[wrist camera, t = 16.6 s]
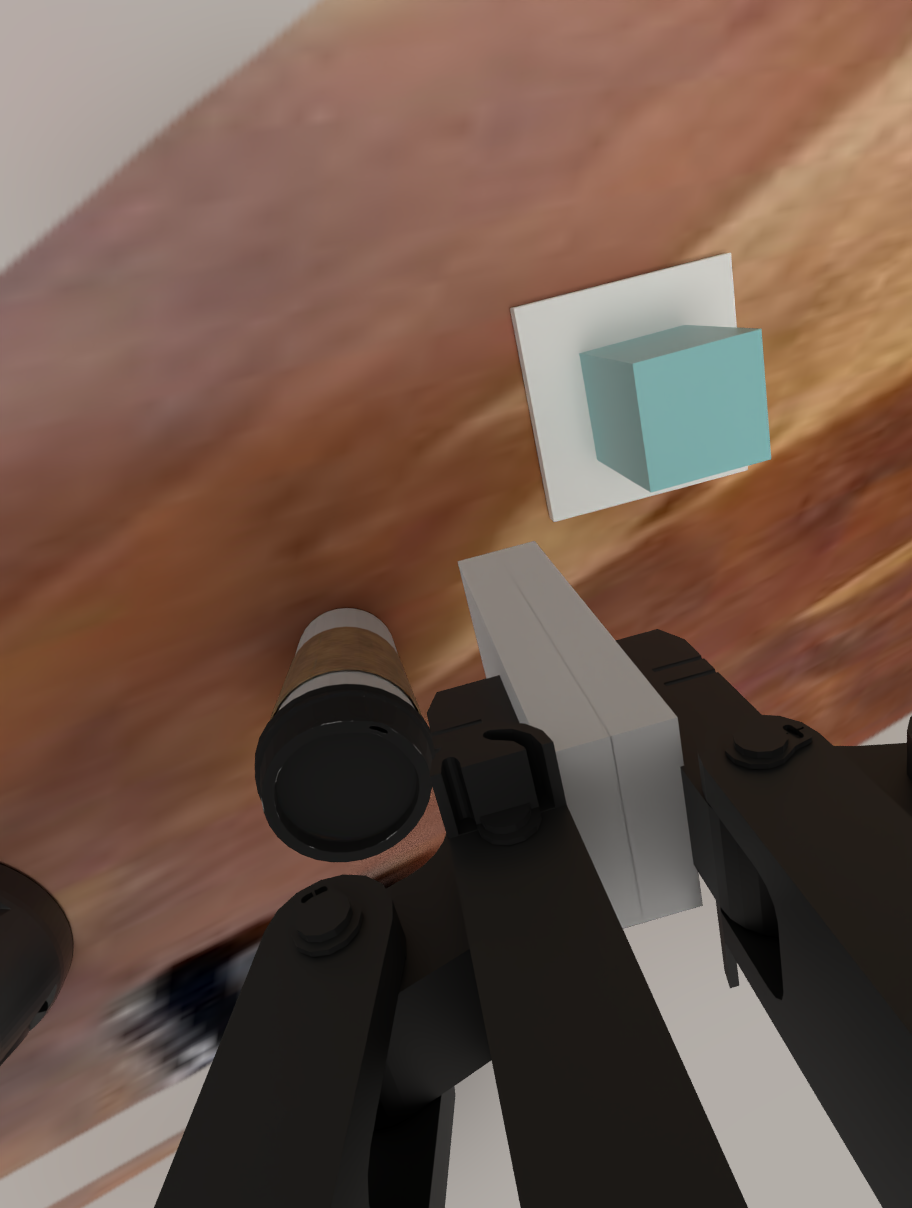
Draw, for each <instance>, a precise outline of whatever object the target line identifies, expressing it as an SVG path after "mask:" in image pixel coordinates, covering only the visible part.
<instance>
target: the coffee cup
mask: <svg viewBox="0 0 912 1208" xmlns="http://www.w3.org/2000/svg"><path fill="white" fill-rule="evenodd" d="M434 757H435V751H434V746H433V741H432V735H431V731H430V728H429V727H428V725H427V723H426V722H425V720H424V718H423V717H422V715H421V712H420V709H419V707H418V704H417V701H416V699H415V696H414V694H413V691H412V688H411V686H410V683H409V681H408V678H407V675H406V673H405V670H404V668H403V665H402V662H401V660H400V657H399V656H398V653H397V650H396V647H395V644H394V641H393V638H392V635H391V633H390V632H389V630H388V628H387V627H386V626H385V625H384V624H383V622H382V621H381V620H379V619H378V618H377V617H375V616H374V615H372V614H370V613H368V612H366V611H363V610H359V609H354V608H341V609H335V610H331V611H328V612H326V613H324V614H322V615H320V616H318V617H317V618H316V619H315V620H313V621H312V622H311V623H310V624H309V625H308V627H307V628H306V629H305V631H304V633H303V634H302V636H301V638H300V641H299V644H298V648H297V651H296V654H295V657H294V659H293V661H292V663H291V666H290V668H289V671H288V674H287V676H286V679H285V681H284V684H283V687H282V689H281V692H280V694H279V697H278V700H277V702H276V705H275V707H274V710H273V713H272V715H271V719H270V721H269V722H268V723H267V725H266V727H265V729H264V731H263V732H262V734H261V736H260V738H259V742H258V745H257V749H256V753H255V780H256V785H257V790H258V794H259V796H260V799H261V801H262V805H263V810H264V814H265V816H266V819H267V821H268V823H269V826H270V827H271V828H272V830H273V831H274V833H275V834H276V835H277V837H278V838H279V839H281V840H282V841H283V842H284V843H285V844H286V845H287V846H288V847H290V848H292V849H293V850H295V851H297V852H298V853H300V854H302V855H305V856H307V857H310V858H313V859H316V860H321V861H328V862H351V861H357V860H363V859H366V858H369V857H372V856H375V855H378V854H380V853H382V852H384V851H386V850H387V849H389V848H391V847H393V846H394V845H396V844H397V843H398V842H400V841H401V840H402V839H403V838H405V837H406V836H407V835H408V834H409V833H410V832H411V830H412V829H413V828H414V827H415V826H416V825H417V823H418V822H419V820H420V819H421V817H422V816H423V814H424V812H425V810H426V807H427V805H428V802H429V799H430V793H431V789H432V783H431V780H430V769H431V762H432V760H433V759H434Z"/></svg>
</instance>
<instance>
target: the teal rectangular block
mask: <svg viewBox="0 0 912 1208" xmlns="http://www.w3.org/2000/svg"><path fill="white" fill-rule="evenodd" d="M579 356H580V361H581V367H582V373H583V379H584V385H585V391H586V397H587V403H588V409H589V415H590V421H591V427H592V433H593V438H594V444H595V450H596V456H597V460H598V461H599V462H601V463H603V464H604V465H606V466H608V467H609V468H611V469H613V470H614V471H616V472H618V473H619V474H621V475H623V476H624V477H626V478H628V479H629V480H631V481H633V482H634V483H636V484H637V485H639V486H641V487H642V488H644V489H646V490H647V491H649V492H655V491H658V490H662V489H666V488H669V487H673V486H676V485H680V484H684V483H687V482H691V481H694V480H698V479H702V478H705V477H709V476H712V475H716V474H720V473H723V472H727V471H730V470H734V469H738V468H741V467H745V466H748V465H752V464H756V463H759V462H763V461H766V460H770V459H771V451H770V438H769V424H768V411H767V398H766V384H765V371H764V358H763V345H762V331H761V329H757V328H737V327H717V326H696V325H682V326H678V327H675V328H671V329H667V330H664V331H660V332H656V333H653V334H649V335H645V336H641V337H638V338H634V339H630V340H627V341H623V342H619V343H616V344H612V345H608V346H604V347H601V348H597V349H593V350H590V351H586V352H582V353H579Z"/></svg>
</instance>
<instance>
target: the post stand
mask: <svg viewBox="0 0 912 1208" xmlns="http://www.w3.org/2000/svg"><path fill="white" fill-rule="evenodd" d="M510 311H511V317H512V322H513V327H514V332H515V338H516V343H517V348H518V353H519V359H520V364H521V369H522V375H523V380H524V385H525V390H526V396H527V401H528V406H529V411H530V417H531V422H532V427H533V432H534V438H535V443H536V448H537V454H538V459H539V464H540V469H541V475H542V480H543V485H544V490H545V496H546V501H547V506H548V511H549V517H550V519H551V520H552V521H553V522H556V521H560V520H564V519H567V518H571V517H575V516H578V515H582V514H586V513H590V512H593V511H597V510H601V509H605V508H608V507H612V506H616V505H619V504H623V503H627V502H631V501H634V500H638V499H642V498H646V497H649V496H653V495H657V494H661V493H664V492H668V491H672V490H675V489H679V488H683V487H687V486H690V485H694V484H698V483H702V482H705V481H709V480H713V479H716V478H720V477H724V476H728V475H731V474H735V473H739V472H743V471H746V470H748V466H745V467H741V468H738V469H734V470H730V471H727V472H723V473H720V474H716V475H712V476H709V477H705V478H702V479H698V480H694V481H691V482H687V483H684V484H680V485H676V486H673V487H669V488H666V489H662V490H658V491H655V492H649V491H647V490H646V489H644V488H642V487H641V486H639V485H637V484H636V483H634V482H633V481H631V480H629V479H628V478H626V477H624V476H623V475H621V474H619V473H618V472H616V471H614V470H613V469H611V468H609V467H608V466H606V465H604V464H603V463H601V462H599V461H598V460H597V456H596V450H595V444H594V438H593V433H592V427H591V421H590V415H589V409H588V403H587V397H586V391H585V385H584V379H583V373H582V367H581V361H580V356H579V353H582V352H586V351H590V350H593V349H597V348H601V347H604V346H608V345H612V344H616V343H619V342H623V341H627V340H630V339H634V338H638V337H641V336H645V335H649V334H653V333H656V332H660V331H664V330H667V329H671V328H675V327H678V326H682V325H696V326H717V327H737V325H736V312H735V299H734V287H733V274H732V261H731V253H725V254H720V255H716V256H712V257H708V258H704V259H700V260H696V261H692V262H689V263H685V264H681V265H677V266H673V267H669V268H665V269H661V270H657V271H653V272H650V273H646V274H642V275H638V276H634V277H630V278H626V279H622V280H618V281H614V282H610V283H607V284H603V285H599V286H595V287H591V288H587V289H583V290H579V291H575V292H571V293H568V294H564V295H560V296H556V297H552V298H548V299H544V300H540V301H536V302H532V303H528V304H525V305H521V306H517V307H513V308H510Z"/></svg>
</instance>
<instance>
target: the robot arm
mask: <svg viewBox="0 0 912 1208" xmlns="http://www.w3.org/2000/svg"><path fill="white" fill-rule="evenodd" d="M458 565H459V569H460V573H461V577H462V581H463V585H464V589H465V594H466V598H467V602H468V606H469V610H470V614H471V618H472V622H473V626H474V630H475V634H476V638H477V642H478V646H479V650H480V654H481V658H482V662H483V667H484V671H485V675H486V679H483V680H480V681H476V682H472V683H469V684H465V685H461V686H458V687H454V688H451V689H447V690H443V691H440V692H437V693H436V695H435V697H434V699H433V701H432V703H431V705H430V708H429V710H428V712H427V716H428V721H429V726H430V731H431V735H432V741H433V746H434V751H435V757H434V759H433V760H432V762H431V769H430V780H431V783H432V787H433V790H434V793H435V797H436V800H437V803H438V807H439V810H440V813H441V817H442V820H443V823H444V827H445V830H446V836H445V839H444V841H443V843H442V844H441V846H440V848H439V849H438V851H437V852H436V854H435V855H434V856H433V857H432V858H431V859H430V860H429V861H428V862H427V863H426V864H425V865H424V866H423V867H421V868H420V869H418V870H417V871H415V872H414V873H412V874H411V875H409V876H408V877H406V878H405V879H403V880H401V881H399V882H398V883H396V884H394V885H392V886H390V887H389V888H387V889H385V887H384V886H383V884H381V883H379V882H377V881H375V880H373V879H371V878H369V877H367V876H362V875H340V876H336V877H332V878H328V879H324V880H320V881H318V882H316V883H314V884H313V885H311V886H309V887H307V888H305V889H303V890H301V891H300V892H298V893H296V894H295V895H294V896H293V897H292V898H291V899H290V900H289V901H288V902H286V903H285V904H284V905H283V906H282V907H281V908H280V909H279V910H278V911H277V912H276V914H275V916H274V917H273V919H272V921H271V922H270V924H269V925H268V927H267V929H266V930H265V932H264V935H263V937H262V940H261V942H260V945H259V947H258V950H257V952H256V955H255V957H254V960H253V962H252V965H251V967H250V970H249V972H248V975H247V977H246V980H245V982H244V985H243V987H242V990H241V992H240V995H239V997H238V1000H237V1002H236V1005H235V1007H234V1010H233V1012H232V1015H231V1017H230V1020H229V1022H228V1025H227V1027H226V1030H225V1032H224V1035H223V1037H222V1039H221V1042H220V1044H219V1047H218V1049H217V1052H216V1054H215V1057H214V1059H213V1062H212V1064H211V1067H210V1069H209V1072H208V1075H207V1077H206V1079H205V1082H204V1084H203V1087H202V1089H201V1092H200V1094H199V1097H198V1099H197V1102H196V1104H195V1107H194V1109H193V1112H192V1114H191V1117H190V1119H189V1122H188V1124H187V1127H186V1129H185V1132H184V1134H183V1137H182V1139H181V1142H180V1144H179V1147H178V1149H177V1152H176V1154H175V1157H174V1159H173V1162H172V1164H171V1167H170V1169H169V1172H168V1174H167V1177H166V1179H165V1182H164V1184H163V1187H162V1189H161V1192H160V1194H159V1197H158V1199H157V1201H156V1204H155V1207H154V1208H445V1199H446V1189H447V1178H448V1167H449V1157H450V1146H451V1135H452V1125H453V1114H454V1103H455V1088H454V1086H455V1085H456V1084H458V1083H459V1082H461V1081H462V1080H463V1079H465V1078H466V1077H468V1076H469V1075H471V1074H472V1073H474V1072H475V1071H476V1070H478V1069H479V1068H481V1067H482V1066H484V1065H485V1064H486V1063H488V1062H489V1061H491V1060H492V1064H493V1069H494V1074H495V1079H496V1084H497V1089H498V1094H499V1099H500V1105H501V1109H502V1115H503V1120H504V1125H505V1130H506V1135H507V1140H508V1145H509V1149H510V1155H511V1160H512V1165H513V1171H514V1176H515V1181H516V1185H517V1191H518V1196H519V1201H520V1206H521V1208H748V1207H747V1204H746V1202H745V1200H744V1198H743V1195H742V1193H741V1191H740V1189H739V1187H738V1184H737V1182H736V1180H735V1178H734V1175H733V1173H732V1171H731V1169H730V1167H729V1164H728V1162H727V1160H726V1158H725V1155H724V1153H723V1151H722V1149H721V1147H720V1144H719V1142H718V1140H717V1138H716V1135H715V1133H714V1131H713V1129H712V1127H711V1124H710V1122H709V1120H708V1118H707V1115H706V1114H705V1111H704V1109H703V1107H702V1105H701V1102H700V1100H699V1098H698V1095H697V1093H696V1091H695V1089H694V1086H693V1084H692V1082H691V1080H690V1078H689V1076H688V1074H687V1071H686V1069H685V1066H684V1064H683V1062H682V1060H681V1058H680V1055H679V1053H678V1051H677V1049H676V1046H675V1044H674V1042H673V1040H672V1038H671V1035H670V1033H669V1031H668V1029H667V1027H666V1024H665V1022H664V1020H663V1018H662V1016H661V1013H660V1011H659V1009H658V1007H657V1004H656V1002H655V1000H654V998H653V995H652V993H651V991H650V989H649V987H648V984H647V982H646V980H645V978H644V975H643V973H642V971H641V969H640V966H639V964H638V962H637V960H636V958H635V955H634V953H633V951H632V949H631V946H630V944H629V942H628V940H627V938H626V935H625V933H624V931H623V929H624V928H627V927H631V926H634V925H638V924H641V923H645V922H648V921H651V920H655V919H658V918H662V917H665V916H668V915H672V914H675V913H679V912H682V911H686V910H689V909H693V908H696V907H700V906H703V904H702V897H701V889H700V882H699V874H700V875H701V877H702V879H703V880H704V882H705V883H706V885H707V887H708V888H709V890H710V891H711V893H712V894H713V896H714V898H715V899H716V906H717V914H718V921H719V930H720V938H721V946H722V954H723V962H724V969H725V974H726V976H727V980H728V983H729V986H730V988H732V987H736V986H739V979H738V970H737V963H738V965H739V967H740V968H741V970H742V971H743V973H744V975H745V977H746V978H747V980H748V982H749V983H750V985H751V987H752V988H753V990H754V992H755V993H756V995H757V997H758V999H759V1000H760V1002H761V1004H762V1005H763V1007H764V1008H765V1010H766V1012H767V1013H768V1015H769V1017H770V1019H771V1020H772V1022H773V1024H774V1026H775V1027H776V1029H777V1030H778V1032H779V1034H780V1035H781V1037H782V1039H783V1041H784V1042H785V1044H786V1046H787V1047H788V1049H789V1051H790V1052H791V1054H792V1056H793V1057H794V1059H795V1061H796V1063H797V1064H798V1066H799V1068H800V1069H801V1071H802V1073H803V1074H804V1076H805V1078H806V1079H807V1081H808V1083H809V1084H810V1086H811V1088H812V1089H813V1091H814V1093H815V1094H816V1096H817V1098H818V1100H819V1101H820V1103H821V1105H822V1106H823V1108H824V1110H825V1111H826V1113H827V1115H828V1116H829V1118H830V1120H831V1121H832V1123H833V1125H834V1126H835V1128H836V1130H837V1131H838V1133H839V1135H840V1137H841V1138H842V1140H843V1141H844V1143H845V1145H846V1147H847V1148H848V1150H849V1152H850V1153H851V1155H852V1156H853V1158H854V1160H855V1162H856V1163H857V1165H858V1167H859V1168H860V1170H861V1172H862V1174H863V1175H864V1177H865V1179H866V1180H867V1182H868V1184H869V1185H870V1187H871V1189H872V1190H873V1192H874V1194H875V1196H876V1197H877V1199H878V1201H879V1202H880V1204H881V1206H882V1207H883V1208H912V716H911V717H910V720H909V725H908V729H907V743H899V744H884V745H867V746H833V745H832V744H831V743H830V742H828V741H827V740H826V739H825V738H824V737H823V736H822V735H821V734H820V733H818V732H817V731H815V730H813V729H812V728H810V727H808V726H807V725H805V724H804V723H802V722H799V721H795V720H792V719H788V718H785V717H781V716H771V715H761V714H760V713H759V712H758V711H757V710H756V709H755V708H754V707H753V706H752V705H751V704H750V703H749V702H748V701H747V700H746V699H745V698H744V697H743V696H742V695H741V694H740V693H739V692H738V691H737V690H736V689H735V688H734V687H733V686H732V685H731V684H730V683H729V682H728V681H727V680H726V679H725V678H724V677H723V676H722V675H720V674H719V673H718V672H717V673H716V672H715V669H714V668H713V667H712V666H711V665H710V664H709V663H708V662H707V661H706V660H705V659H702V658H701V655H700V654H699V653H698V652H697V651H696V650H695V649H694V648H693V647H692V646H691V645H690V644H689V643H688V642H687V641H686V640H685V639H682V638H680V637H677V636H675V635H672V634H669V633H667V632H664V631H661V630H659V629H656V630H652V631H649V632H645V633H641V634H638V635H634V636H630V637H627V638H623V639H620V640H616V641H615V640H614V638H613V637H612V636H611V635H610V633H609V632H608V631H607V630H606V628H605V627H604V626H603V625H602V624H601V622H600V621H599V620H598V619H597V617H596V616H595V615H594V614H593V612H592V611H591V610H590V609H589V608H588V606H587V605H586V604H585V603H584V601H583V600H582V599H581V598H580V596H579V595H578V594H577V593H576V591H575V590H574V589H573V588H572V587H571V585H570V584H569V583H568V582H567V580H566V579H565V578H564V577H563V575H562V574H561V573H560V572H559V571H558V569H557V568H556V567H555V566H554V564H553V563H552V562H551V561H550V559H549V558H548V557H547V556H546V554H545V553H544V552H543V551H542V550H541V548H540V547H539V546H538V545H537V543H536V542H535V541H532V542H529V543H525V544H521V545H517V546H514V547H510V548H506V549H503V550H499V551H495V552H491V553H488V554H484V555H480V556H476V557H473V558H469V559H465V560H462V561H458ZM698 872H699V874H698ZM72 955H73V940H72V934H71V930H70V927H69V924H68V922H67V920H66V918H65V916H64V914H63V912H62V911H61V909H60V908H59V906H58V905H57V904H56V902H55V901H54V900H53V899H52V898H51V897H50V896H49V895H48V894H47V893H46V892H45V891H44V890H43V889H42V888H41V887H39V886H38V885H37V884H36V883H34V882H33V881H31V880H30V879H28V878H27V877H25V876H24V875H22V874H20V873H18V872H16V871H14V870H12V869H10V868H8V867H6V866H3V865H1V864H0V1066H1V1065H2V1064H3V1062H4V1061H5V1060H6V1059H7V1058H8V1057H9V1056H10V1054H11V1053H12V1052H13V1051H14V1050H15V1049H16V1048H17V1047H18V1045H19V1044H20V1043H21V1042H22V1041H23V1039H24V1038H25V1037H26V1036H27V1034H28V1033H29V1031H30V1030H31V1029H33V1028H34V1027H35V1026H36V1025H37V1024H38V1023H39V1022H40V1021H41V1019H42V1018H43V1017H44V1016H45V1015H46V1014H47V1012H48V1011H49V1010H50V1008H51V1007H52V1005H53V1003H54V1002H55V1000H56V998H57V996H58V994H59V992H60V990H61V987H62V985H63V982H64V980H65V978H66V975H67V973H68V971H69V968H70V965H71V961H72Z"/></svg>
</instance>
